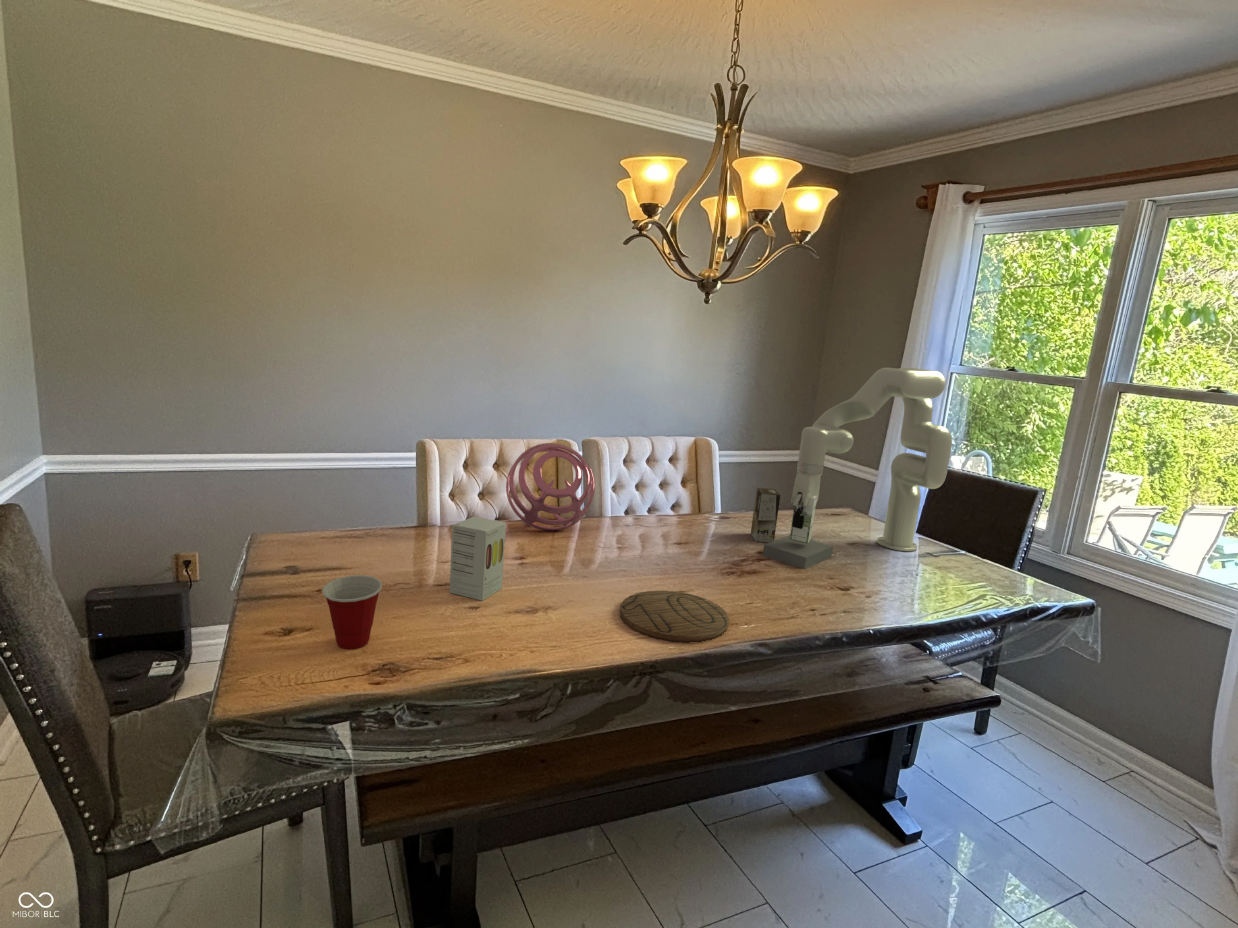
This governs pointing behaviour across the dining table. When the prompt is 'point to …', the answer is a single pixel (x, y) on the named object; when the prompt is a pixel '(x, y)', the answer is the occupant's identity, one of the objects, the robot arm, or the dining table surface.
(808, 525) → the syrup box
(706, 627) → the trivet
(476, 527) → the supplement box
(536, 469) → the pink openwork sphere
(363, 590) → the plastic cup
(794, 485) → the robot arm
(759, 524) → the coffee box
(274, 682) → the dining table surface
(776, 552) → the plate
